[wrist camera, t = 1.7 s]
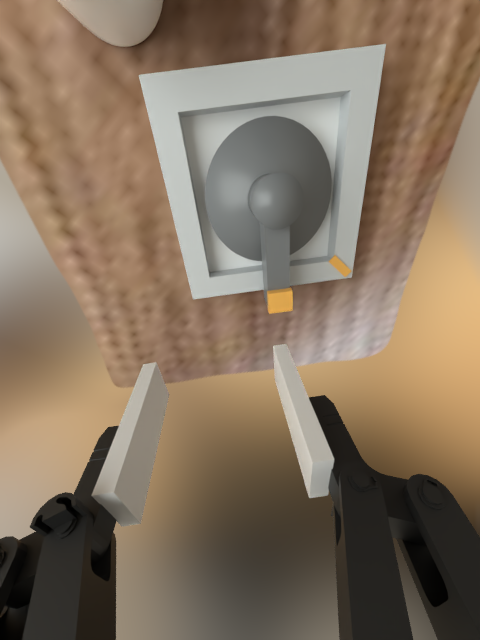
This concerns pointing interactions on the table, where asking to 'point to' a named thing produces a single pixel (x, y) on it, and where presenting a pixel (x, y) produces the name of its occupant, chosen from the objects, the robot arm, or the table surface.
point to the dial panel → (245, 105)
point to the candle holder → (116, 18)
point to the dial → (269, 197)
